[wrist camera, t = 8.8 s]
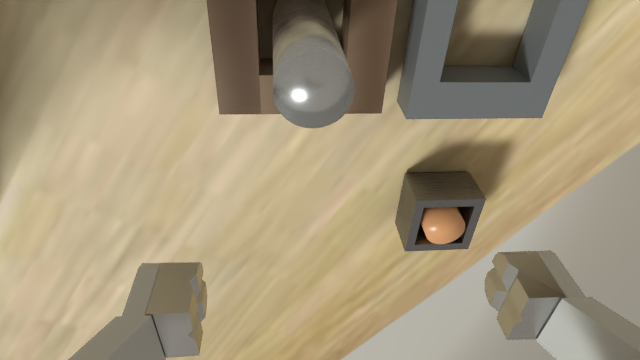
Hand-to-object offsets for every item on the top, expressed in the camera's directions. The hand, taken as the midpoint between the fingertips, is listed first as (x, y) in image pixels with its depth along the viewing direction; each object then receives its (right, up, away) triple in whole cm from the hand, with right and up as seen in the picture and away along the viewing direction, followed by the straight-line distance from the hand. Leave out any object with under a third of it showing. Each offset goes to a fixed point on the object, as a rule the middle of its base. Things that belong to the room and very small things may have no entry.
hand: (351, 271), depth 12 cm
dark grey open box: (+10, +1, +30) cm, 32 cm away
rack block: (+11, +14, +20) cm, 27 cm away
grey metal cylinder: (-2, +14, +18) cm, 23 cm away
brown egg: (+10, 0, +29) cm, 31 cm away
